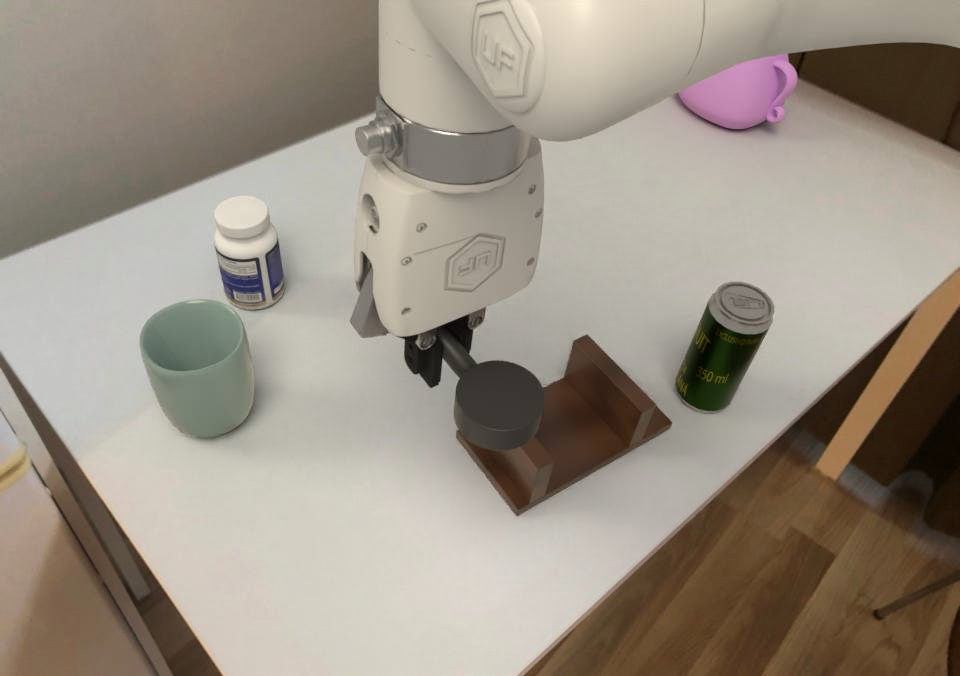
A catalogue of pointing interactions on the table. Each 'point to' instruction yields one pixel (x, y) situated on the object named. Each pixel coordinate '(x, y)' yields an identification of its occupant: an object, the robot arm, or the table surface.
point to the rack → (573, 430)
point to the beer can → (724, 346)
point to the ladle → (493, 398)
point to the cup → (199, 366)
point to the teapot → (744, 93)
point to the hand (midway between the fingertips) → (436, 364)
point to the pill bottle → (248, 253)
